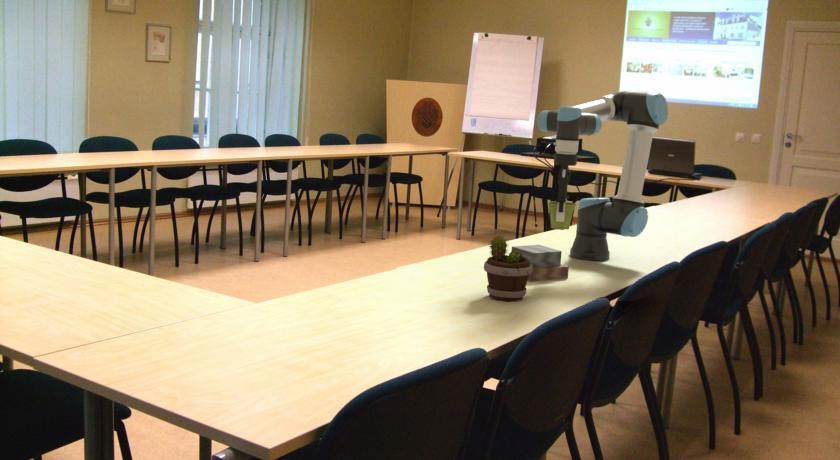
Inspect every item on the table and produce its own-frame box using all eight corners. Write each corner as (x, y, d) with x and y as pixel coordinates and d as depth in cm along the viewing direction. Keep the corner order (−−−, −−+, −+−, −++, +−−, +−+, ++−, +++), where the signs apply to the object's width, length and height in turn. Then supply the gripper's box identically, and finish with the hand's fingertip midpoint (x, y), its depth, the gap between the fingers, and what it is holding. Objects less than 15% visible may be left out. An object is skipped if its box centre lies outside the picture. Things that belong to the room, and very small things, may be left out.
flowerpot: (534, 294, 253) (539, 231, 249) (524, 306, 238) (529, 238, 235) (489, 289, 257) (493, 226, 254) (476, 299, 243) (480, 233, 240)
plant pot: (574, 231, 272) (576, 205, 271) (545, 229, 274) (547, 203, 272) (573, 227, 281) (576, 202, 280) (546, 225, 283) (548, 200, 281)
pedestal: (537, 268, 292) (539, 243, 291) (567, 277, 279) (570, 252, 277) (501, 271, 284) (503, 245, 282) (531, 281, 270) (533, 254, 269)
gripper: (556, 150, 285) (551, 214, 288) (553, 154, 263) (547, 223, 267) (578, 151, 283) (572, 216, 287) (576, 155, 262) (570, 225, 265)
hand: (560, 219), depth 277 cm, fingers closed on plant pot, 9 cm apart
